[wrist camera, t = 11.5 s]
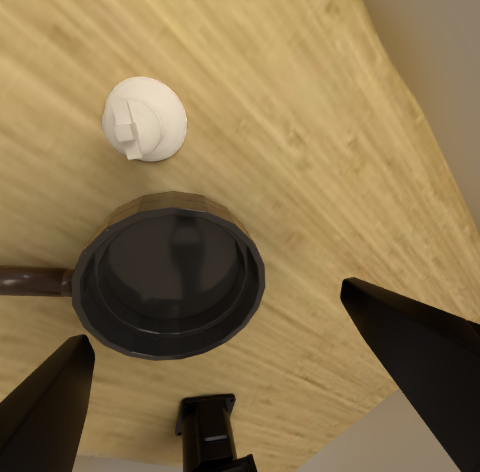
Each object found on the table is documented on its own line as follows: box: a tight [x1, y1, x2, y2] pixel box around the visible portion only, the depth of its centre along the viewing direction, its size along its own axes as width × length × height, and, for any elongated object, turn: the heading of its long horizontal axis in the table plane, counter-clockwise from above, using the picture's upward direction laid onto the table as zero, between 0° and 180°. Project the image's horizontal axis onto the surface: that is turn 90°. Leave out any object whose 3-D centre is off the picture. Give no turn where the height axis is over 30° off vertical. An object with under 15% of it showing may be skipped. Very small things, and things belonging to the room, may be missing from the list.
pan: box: [71, 191, 265, 361], centre depth 19 cm, size 13×13×4 cm
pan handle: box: [0, 265, 88, 297], centre depth 15 cm, size 9×2×2 cm, turn 77°
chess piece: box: [102, 77, 187, 162], centre depth 12 cm, size 5×5×10 cm
